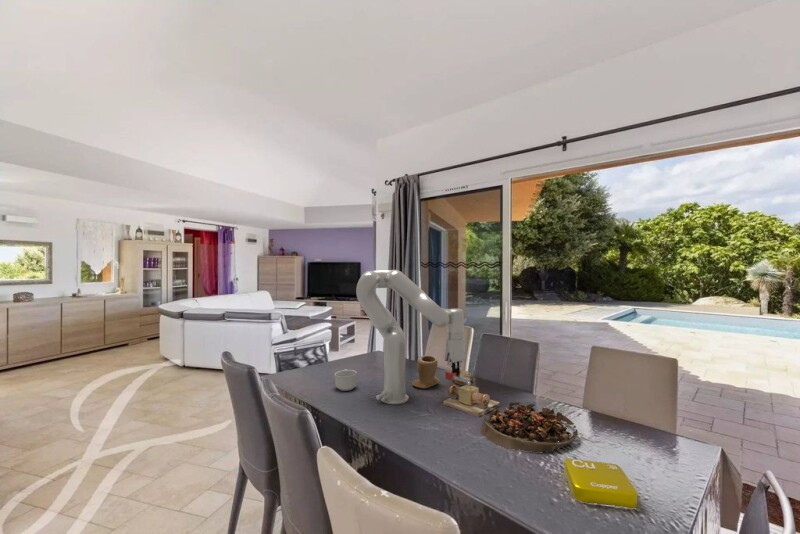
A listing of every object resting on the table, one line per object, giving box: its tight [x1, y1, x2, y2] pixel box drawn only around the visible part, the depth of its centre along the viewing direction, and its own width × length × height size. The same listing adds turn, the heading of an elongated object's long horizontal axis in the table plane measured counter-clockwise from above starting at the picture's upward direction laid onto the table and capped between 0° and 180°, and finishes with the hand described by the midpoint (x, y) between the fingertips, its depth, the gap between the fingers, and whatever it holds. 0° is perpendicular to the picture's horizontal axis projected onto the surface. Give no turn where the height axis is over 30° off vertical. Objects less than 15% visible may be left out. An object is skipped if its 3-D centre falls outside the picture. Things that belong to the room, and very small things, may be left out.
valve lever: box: [444, 370, 470, 386], centre depth 163 cm, size 13×3×4 cm, turn 42°
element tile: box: [563, 458, 638, 508], centre depth 101 cm, size 15×15×5 cm
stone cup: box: [411, 354, 441, 389], centre depth 186 cm, size 15×12×15 cm
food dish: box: [479, 401, 579, 453], centre depth 136 cm, size 35×33×8 cm
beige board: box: [442, 397, 500, 417], centre depth 161 cm, size 16×18×2 cm
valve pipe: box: [448, 383, 491, 409], centre depth 159 cm, size 6×18×7 cm, turn 45°
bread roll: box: [453, 369, 474, 386], centre depth 191 cm, size 10×10×8 cm
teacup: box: [334, 368, 358, 392], centre depth 183 cm, size 14×11×8 cm
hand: (455, 376), depth 169 cm, fingers closed
